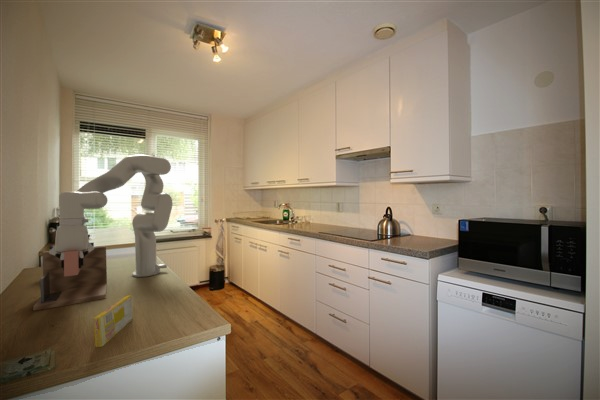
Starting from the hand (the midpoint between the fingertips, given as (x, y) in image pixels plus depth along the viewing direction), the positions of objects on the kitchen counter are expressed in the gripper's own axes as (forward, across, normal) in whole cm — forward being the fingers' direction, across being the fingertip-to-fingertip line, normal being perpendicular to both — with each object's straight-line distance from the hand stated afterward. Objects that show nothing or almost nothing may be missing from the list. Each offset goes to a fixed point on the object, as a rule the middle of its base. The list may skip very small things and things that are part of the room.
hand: (72, 268), depth 110 cm
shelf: (+12, 0, -1) cm, 12 cm away
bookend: (+10, +6, 0) cm, 12 cm away
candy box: (+12, -14, +43) cm, 47 cm away
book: (+2, 0, 0) cm, 2 cm away
